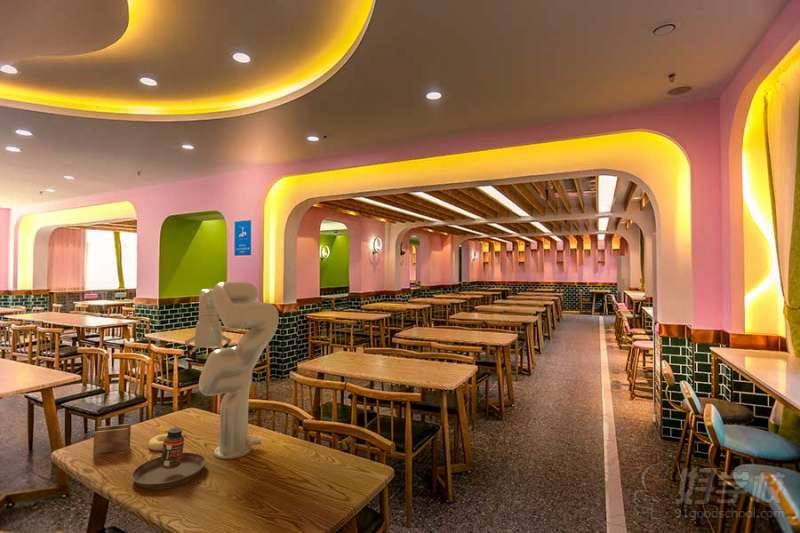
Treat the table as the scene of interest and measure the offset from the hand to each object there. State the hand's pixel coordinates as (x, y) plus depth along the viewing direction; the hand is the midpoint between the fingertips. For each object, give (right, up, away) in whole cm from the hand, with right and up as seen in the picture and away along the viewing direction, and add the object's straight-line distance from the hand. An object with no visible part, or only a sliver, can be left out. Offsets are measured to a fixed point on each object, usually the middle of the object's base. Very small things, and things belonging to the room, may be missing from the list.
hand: (207, 360), depth 169 cm
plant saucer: (+5, -29, -37) cm, 47 cm away
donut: (-9, -29, -16) cm, 34 cm away
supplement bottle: (+5, -26, -37) cm, 45 cm away
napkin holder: (-24, -28, -22) cm, 43 cm away
